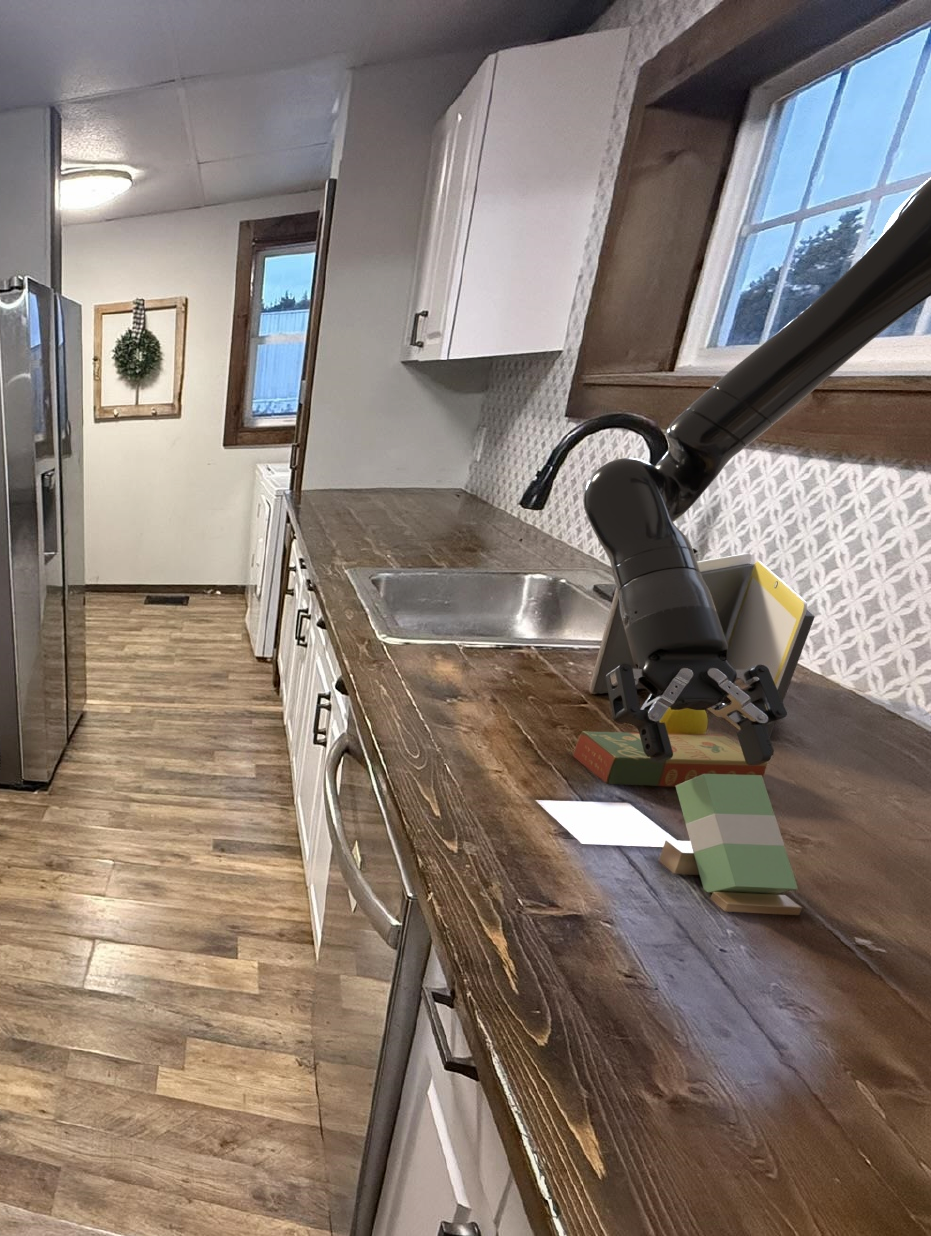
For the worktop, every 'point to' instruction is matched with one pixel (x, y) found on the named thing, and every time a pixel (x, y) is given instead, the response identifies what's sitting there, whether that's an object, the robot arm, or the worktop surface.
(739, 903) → the wooden bars
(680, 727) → the lemon
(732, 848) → the packet
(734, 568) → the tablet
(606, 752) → the carton
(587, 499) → the robot arm
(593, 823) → the coaster
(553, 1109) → the worktop surface
